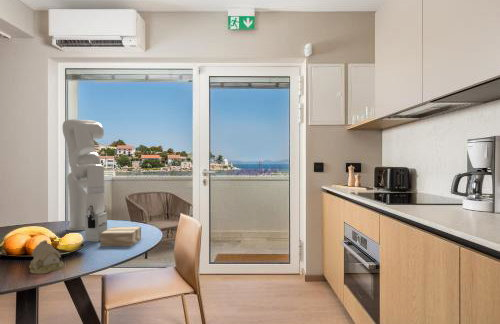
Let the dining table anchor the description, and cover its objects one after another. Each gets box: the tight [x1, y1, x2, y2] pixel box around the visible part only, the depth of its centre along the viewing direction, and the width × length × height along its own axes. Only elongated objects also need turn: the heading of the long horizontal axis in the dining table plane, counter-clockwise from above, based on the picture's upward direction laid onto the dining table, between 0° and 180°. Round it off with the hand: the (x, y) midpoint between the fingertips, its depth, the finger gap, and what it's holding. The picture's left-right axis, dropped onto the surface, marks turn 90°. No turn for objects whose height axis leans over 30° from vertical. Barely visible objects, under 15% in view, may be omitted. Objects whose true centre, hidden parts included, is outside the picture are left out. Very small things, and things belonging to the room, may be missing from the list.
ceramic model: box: [28, 240, 65, 275], centre depth 128 cm, size 14×11×10 cm
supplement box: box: [84, 212, 108, 242], centre depth 169 cm, size 7×7×13 cm
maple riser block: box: [100, 226, 142, 247], centre depth 165 cm, size 14×14×6 cm
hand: (96, 226), depth 169 cm, fingers open, 9 cm apart
